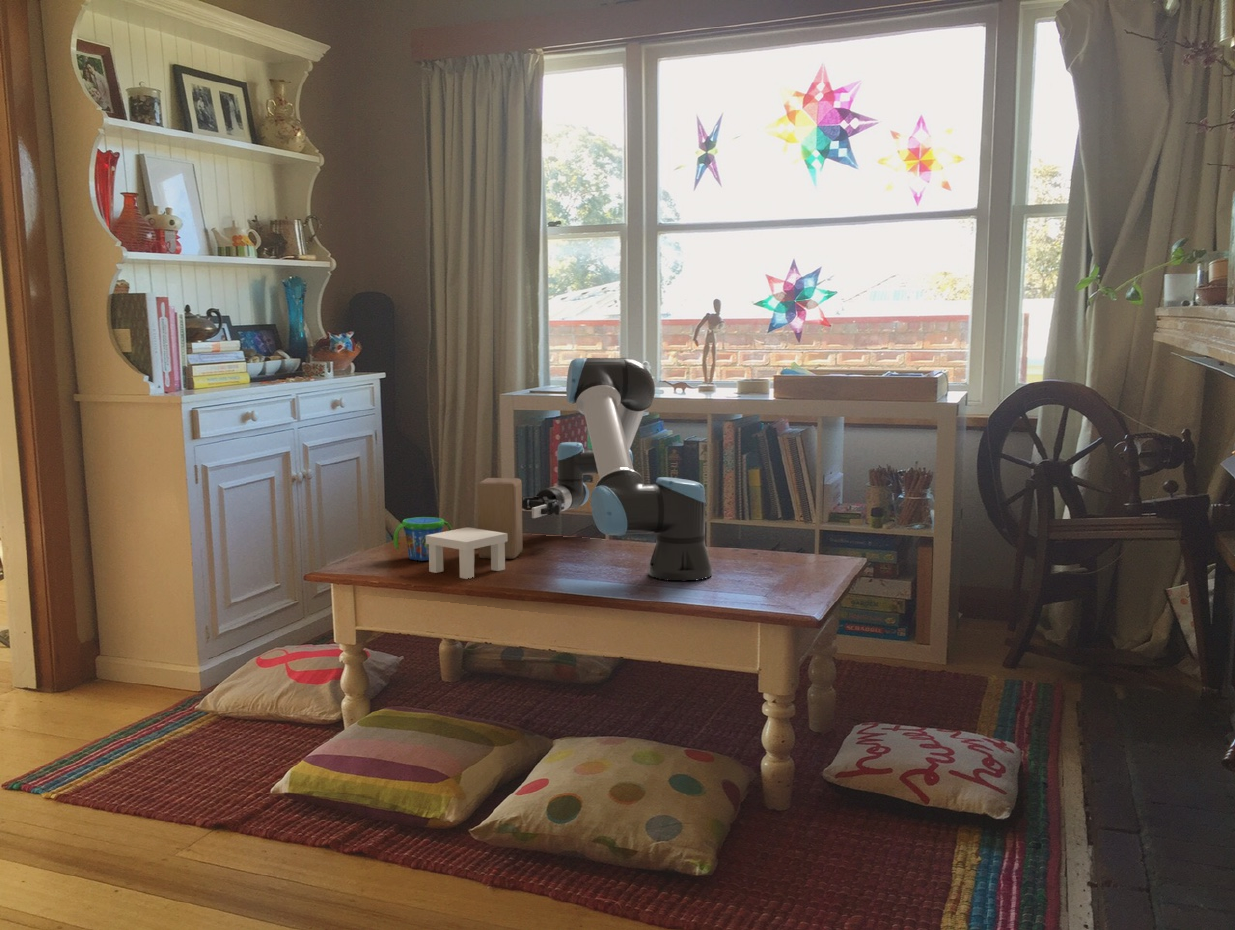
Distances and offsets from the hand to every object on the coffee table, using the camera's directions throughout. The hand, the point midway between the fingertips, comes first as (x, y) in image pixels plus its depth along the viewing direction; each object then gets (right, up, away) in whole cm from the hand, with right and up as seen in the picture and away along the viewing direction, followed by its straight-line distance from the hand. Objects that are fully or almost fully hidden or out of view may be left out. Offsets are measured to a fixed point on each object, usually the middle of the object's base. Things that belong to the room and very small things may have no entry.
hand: (511, 511), depth 273 cm
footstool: (-8, -14, -22) cm, 27 cm away
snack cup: (-22, -12, -8) cm, 26 cm away
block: (-2, -12, -4) cm, 13 cm away
